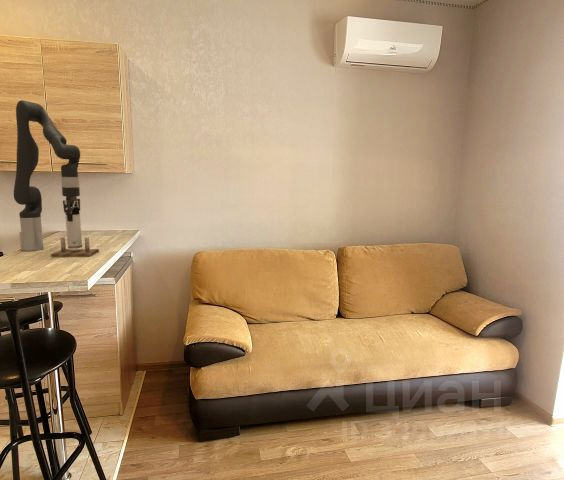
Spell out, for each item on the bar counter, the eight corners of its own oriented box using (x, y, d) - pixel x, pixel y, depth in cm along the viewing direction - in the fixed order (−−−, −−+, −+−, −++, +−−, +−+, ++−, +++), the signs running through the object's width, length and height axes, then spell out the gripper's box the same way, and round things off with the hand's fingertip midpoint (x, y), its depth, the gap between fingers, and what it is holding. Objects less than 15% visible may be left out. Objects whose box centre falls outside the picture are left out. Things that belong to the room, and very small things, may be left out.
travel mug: (76, 248, 184) (73, 208, 181) (65, 248, 185) (61, 207, 182) (85, 246, 190) (82, 207, 187) (74, 245, 191) (71, 206, 188)
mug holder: (51, 257, 181) (49, 239, 180) (62, 252, 193) (61, 235, 192) (90, 256, 183) (88, 239, 182) (99, 251, 195) (97, 235, 194)
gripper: (69, 186, 189) (71, 218, 192) (55, 186, 175) (58, 222, 178) (84, 186, 190) (86, 218, 193) (72, 187, 176) (75, 222, 179)
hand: (73, 220), depth 185 cm, fingers closed on travel mug, 6 cm apart
